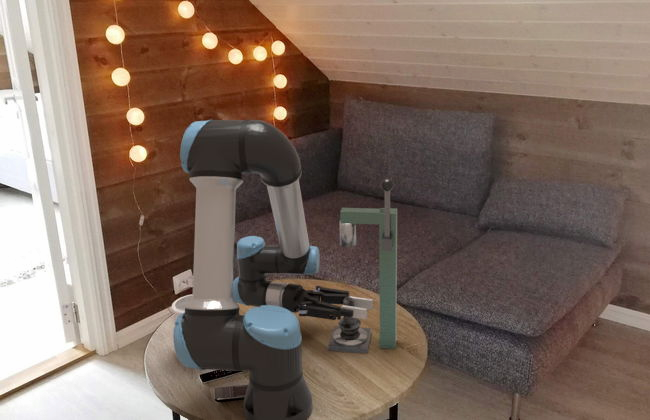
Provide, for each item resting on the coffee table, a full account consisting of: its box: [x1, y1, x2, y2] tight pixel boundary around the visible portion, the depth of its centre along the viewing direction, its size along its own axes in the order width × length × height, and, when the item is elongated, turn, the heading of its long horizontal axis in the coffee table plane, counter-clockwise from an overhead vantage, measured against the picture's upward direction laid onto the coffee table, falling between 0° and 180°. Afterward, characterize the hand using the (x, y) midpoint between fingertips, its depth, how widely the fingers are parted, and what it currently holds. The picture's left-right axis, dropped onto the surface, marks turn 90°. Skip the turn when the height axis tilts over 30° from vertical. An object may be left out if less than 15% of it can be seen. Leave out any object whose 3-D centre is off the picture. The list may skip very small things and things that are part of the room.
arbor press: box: [327, 178, 398, 354], centre depth 144 cm, size 10×17×46 cm, turn 79°
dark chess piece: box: [337, 294, 362, 340], centre depth 149 cm, size 6×6×12 cm
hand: (369, 309), depth 147 cm, fingers open, 4 cm apart
